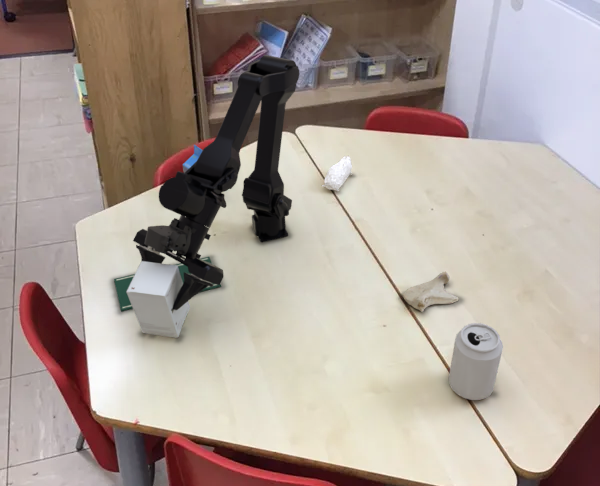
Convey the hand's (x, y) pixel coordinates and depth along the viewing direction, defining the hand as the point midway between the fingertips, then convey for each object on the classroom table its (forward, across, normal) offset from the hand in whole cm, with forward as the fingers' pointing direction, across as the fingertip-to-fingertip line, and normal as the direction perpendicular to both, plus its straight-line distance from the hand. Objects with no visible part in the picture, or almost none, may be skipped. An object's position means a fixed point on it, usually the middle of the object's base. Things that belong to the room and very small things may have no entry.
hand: (157, 298), depth 122 cm
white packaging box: (+4, 0, +6) cm, 7 cm away
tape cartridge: (-20, -26, +30) cm, 44 cm away
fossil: (-22, +35, +32) cm, 53 cm away
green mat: (-2, -9, +11) cm, 15 cm away
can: (-11, +52, +22) cm, 57 cm away
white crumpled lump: (-31, -8, +36) cm, 48 cm away
